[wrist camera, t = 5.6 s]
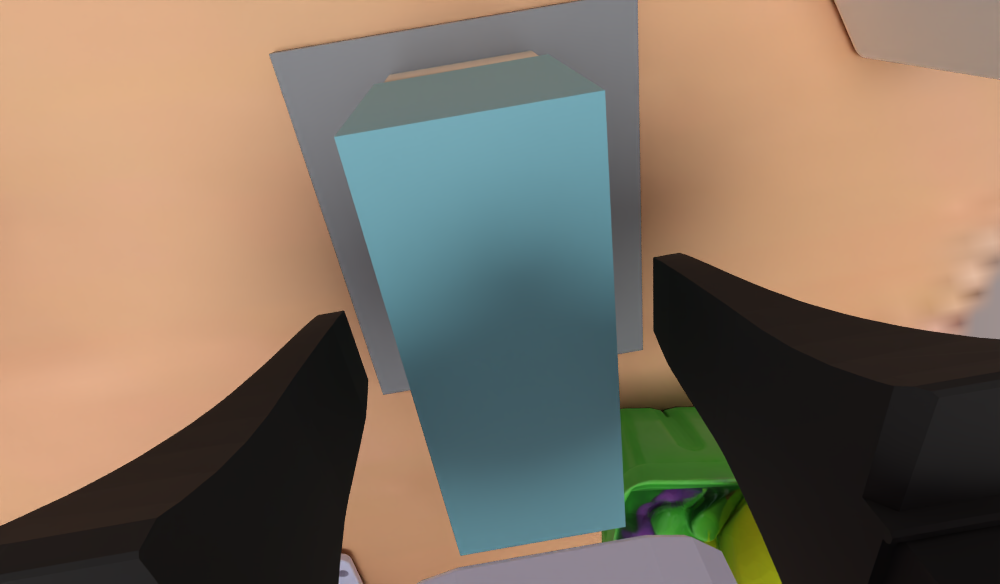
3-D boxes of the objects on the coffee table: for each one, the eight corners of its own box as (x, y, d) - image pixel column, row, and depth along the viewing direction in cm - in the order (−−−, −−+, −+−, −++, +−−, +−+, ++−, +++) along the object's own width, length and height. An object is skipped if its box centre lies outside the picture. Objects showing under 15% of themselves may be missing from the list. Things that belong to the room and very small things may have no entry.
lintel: (580, 390, 17) (625, 526, 13) (456, 412, 17) (460, 555, 13) (548, 54, 12) (605, 90, 8) (374, 84, 12) (334, 136, 8)
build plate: (638, 342, 21) (642, 349, 20) (384, 386, 21) (383, 394, 20) (631, -9, 15) (637, -9, 14) (274, 51, 15) (269, 54, 14)
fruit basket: (570, 510, 25) (647, 836, 16) (594, 360, 21) (721, 680, 11) (795, 500, 27) (1000, 799, 17) (862, 355, 22) (1191, 643, 12)
